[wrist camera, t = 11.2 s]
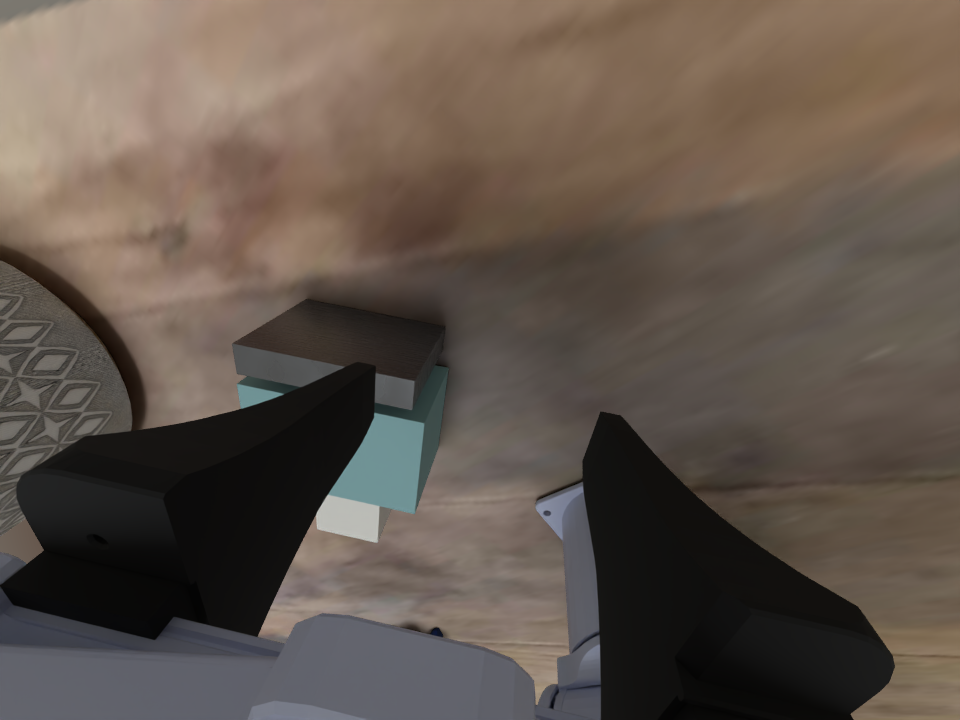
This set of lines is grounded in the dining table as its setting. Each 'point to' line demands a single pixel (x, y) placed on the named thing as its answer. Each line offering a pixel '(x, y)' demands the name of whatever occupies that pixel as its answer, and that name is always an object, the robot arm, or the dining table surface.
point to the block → (382, 444)
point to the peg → (352, 518)
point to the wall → (343, 349)
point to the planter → (49, 383)
